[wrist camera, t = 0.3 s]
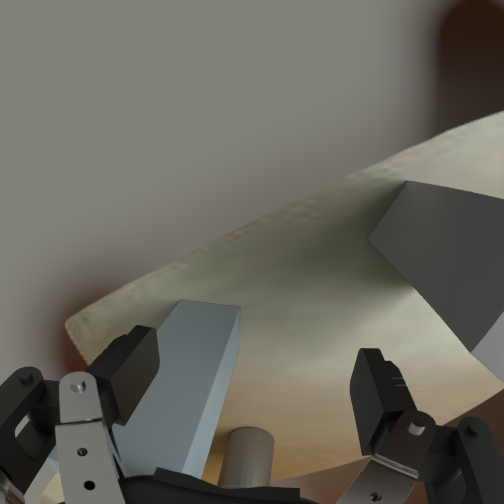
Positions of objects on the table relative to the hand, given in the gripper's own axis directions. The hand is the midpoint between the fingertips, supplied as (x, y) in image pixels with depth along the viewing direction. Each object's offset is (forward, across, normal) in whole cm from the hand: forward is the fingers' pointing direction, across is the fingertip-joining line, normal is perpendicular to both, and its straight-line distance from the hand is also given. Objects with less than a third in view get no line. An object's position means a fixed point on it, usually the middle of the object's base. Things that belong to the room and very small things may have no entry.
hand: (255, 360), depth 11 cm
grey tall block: (+30, +20, 0) cm, 36 cm away
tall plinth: (+30, -8, -17) cm, 35 cm away
